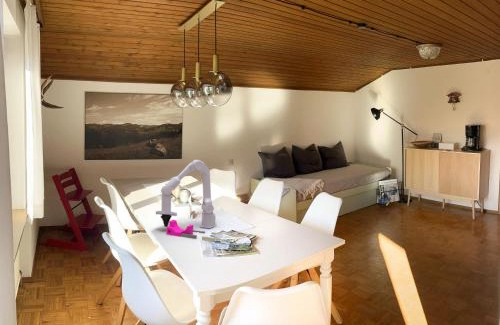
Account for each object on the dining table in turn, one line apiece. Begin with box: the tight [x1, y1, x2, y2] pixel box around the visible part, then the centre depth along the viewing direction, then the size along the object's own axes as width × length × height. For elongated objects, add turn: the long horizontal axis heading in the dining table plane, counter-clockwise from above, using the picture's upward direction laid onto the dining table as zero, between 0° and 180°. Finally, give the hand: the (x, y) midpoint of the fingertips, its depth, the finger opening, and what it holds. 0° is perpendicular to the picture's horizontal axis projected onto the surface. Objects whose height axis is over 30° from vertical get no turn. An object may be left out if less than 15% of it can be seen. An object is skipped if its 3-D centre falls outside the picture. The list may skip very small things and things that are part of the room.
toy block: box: [165, 219, 194, 238], centre depth 235 cm, size 15×6×8 cm, turn 66°
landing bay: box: [201, 231, 232, 243], centre depth 228 cm, size 13×19×2 cm, turn 68°
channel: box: [181, 229, 206, 240], centre depth 236 cm, size 11×18×2 cm, turn 68°
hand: (166, 226), depth 242 cm, fingers closed
